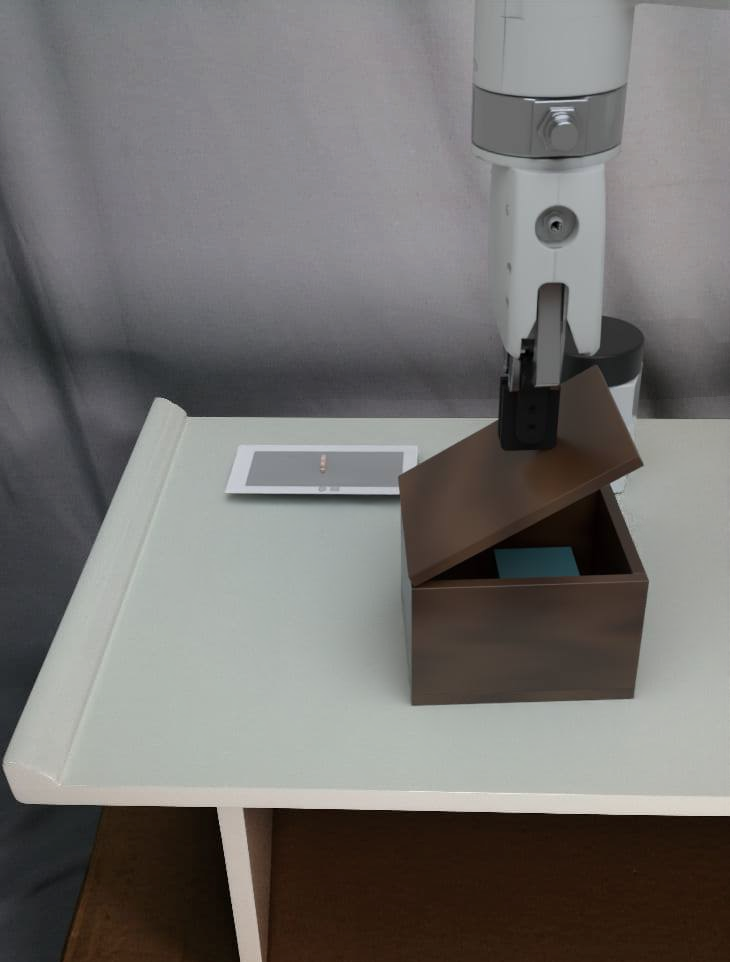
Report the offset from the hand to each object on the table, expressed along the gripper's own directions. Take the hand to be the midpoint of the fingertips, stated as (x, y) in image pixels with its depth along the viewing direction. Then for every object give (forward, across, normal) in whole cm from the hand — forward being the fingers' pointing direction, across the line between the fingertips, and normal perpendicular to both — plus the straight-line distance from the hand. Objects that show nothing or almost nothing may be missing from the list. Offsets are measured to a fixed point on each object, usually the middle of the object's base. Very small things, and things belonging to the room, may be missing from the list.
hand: (526, 443), depth 69 cm
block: (+14, 0, -1) cm, 14 cm away
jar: (+15, +22, -8) cm, 28 cm away
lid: (+2, 0, +1) cm, 2 cm away
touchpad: (+15, +22, +12) cm, 29 cm away
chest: (+15, 0, 0) cm, 15 cm away
